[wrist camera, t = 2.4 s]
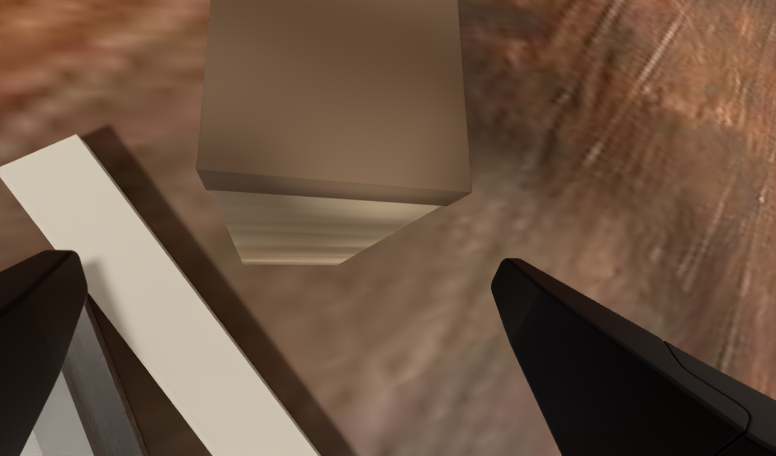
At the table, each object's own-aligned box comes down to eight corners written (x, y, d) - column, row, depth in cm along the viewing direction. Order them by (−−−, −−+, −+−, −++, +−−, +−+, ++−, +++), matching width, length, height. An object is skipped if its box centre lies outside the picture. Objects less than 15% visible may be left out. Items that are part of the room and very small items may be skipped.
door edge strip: (378, 531, 17) (384, 544, 16) (325, 591, 16) (329, 609, 15) (86, 144, 16) (76, 134, 15) (10, 178, 15) (-6, 169, 14)
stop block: (337, 266, 19) (471, 192, 7) (241, 265, 17) (196, 169, 5) (338, 181, 20) (456, -16, 8) (247, 173, 18) (218, -84, 6)
